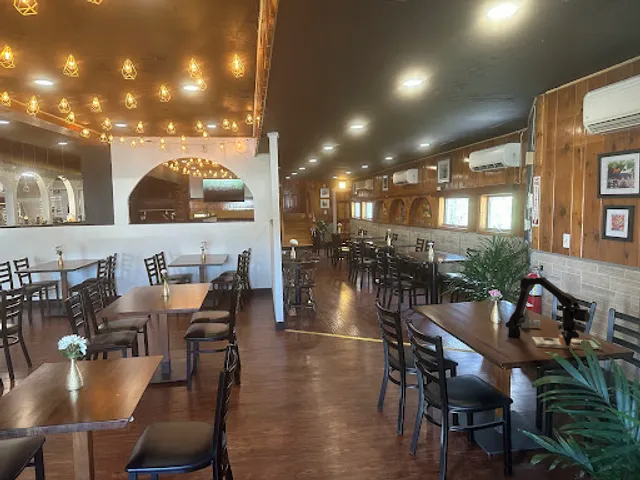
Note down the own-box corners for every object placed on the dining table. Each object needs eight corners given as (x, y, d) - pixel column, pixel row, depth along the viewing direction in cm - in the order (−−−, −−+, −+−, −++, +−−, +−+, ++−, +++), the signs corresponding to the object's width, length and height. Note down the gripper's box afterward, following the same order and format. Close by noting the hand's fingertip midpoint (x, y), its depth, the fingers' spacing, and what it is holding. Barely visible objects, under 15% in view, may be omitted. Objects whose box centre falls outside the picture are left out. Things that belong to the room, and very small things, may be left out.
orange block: (561, 344, 244) (561, 337, 244) (559, 341, 249) (559, 334, 249) (571, 344, 243) (571, 337, 243) (568, 342, 248) (568, 335, 248)
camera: (541, 329, 281) (541, 307, 280) (522, 329, 284) (522, 307, 283) (537, 326, 290) (537, 304, 289) (519, 325, 292) (519, 304, 291)
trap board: (536, 346, 247) (536, 340, 247) (531, 340, 260) (531, 334, 259) (601, 350, 238) (601, 344, 238) (593, 343, 251) (593, 337, 250)
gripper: (590, 323, 227) (589, 352, 228) (579, 315, 244) (578, 341, 245) (566, 322, 230) (566, 350, 231) (557, 314, 247) (557, 340, 248)
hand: (567, 345), depth 239 cm, fingers closed
